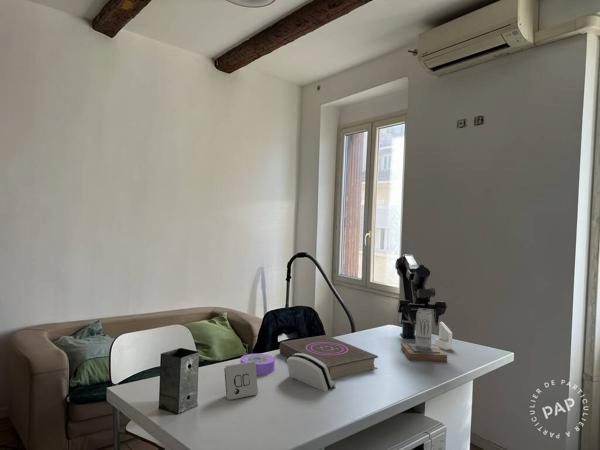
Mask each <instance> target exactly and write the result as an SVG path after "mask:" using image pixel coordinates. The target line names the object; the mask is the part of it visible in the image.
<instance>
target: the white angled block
mask: <svg viewBox="0 0 600 450" xmlns="http://www.w3.org/2000/svg"><path fill="white" fill-rule="evenodd" d="M438 326H439V327H438V331H439V332H438V338H437V337H436V338H435V343H434V344H436V345H437V346H438V347H439V348H440V349H441V350H443V351H444V350H445V351H446V350H452V349H453V348H452V347H453V332H452V331H451V329H450V328H449V327H448V326H447V325H446V324H445V323H444V322H443V321H438Z"/></svg>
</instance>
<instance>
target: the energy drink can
mask: <svg viewBox="0 0 600 450" xmlns="http://www.w3.org/2000/svg"><path fill="white" fill-rule="evenodd" d="M432 331H433V313H432V310H430V309H426V308H419V309H418V311H417V313H416V324H415V336H416V338H414V341H415V342H414V344H415V345H416V346H417V348H420V349H429V348H430V347H431V344H432V337H433V336H432V335H433V334H432Z"/></svg>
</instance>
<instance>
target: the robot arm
mask: <svg viewBox="0 0 600 450" xmlns="http://www.w3.org/2000/svg"><path fill="white" fill-rule="evenodd" d="M394 268H395V270H396V273H397V275H398V276H399V277H400V281H401V289H402V299H399V300H398V303H397V306H396V307H397V308H396V309H397V313H399V316H398V322H399V324H400V325H401V326H402V327H401V328H402V330H401V331H402V332H401V333H399V335H400V337H402V338H403V339H415V338H416V313H417V311H418V309H419V308H426V309H430V310H431V311H433V318H434V319H433V320H434V324H435V327H438V326H439V319H440V317H441V316H442V315H445V313H446V310H447V308H448V305H447V302H446V301H442V300H435V303H434V304H430V302H431V298H434V297H435V296H436V295H437V293H436V289H435V288H434V287H433V288H432V287H430V288H426V286H427V284H428V281H429V279H430V275H431V271H430V270H429V268H427V267H425V265H424V264H419V265H418V263H417V261H416V260H415V256H414V254H406V253H405V254H402V255H401V256H400V257H399V258H397V259H396V261H395V265H394Z"/></svg>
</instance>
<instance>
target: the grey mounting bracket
mask: <svg viewBox="0 0 600 450" xmlns="http://www.w3.org/2000/svg"><path fill="white" fill-rule="evenodd" d="M286 363H287V369H288V377H290V378H292V379H295V380H296V381H297V380H298V381H300V382H302V383H305V384H307V385H309V386H311V387H314V388H315V389H318V390H321V391H323V392H328V391H329V388H334V389H336V383H335V381H333V380H332V379H331V377H330V374H329V371H328V368H327V366H326V365H325V364H324V363H322V362H321V361H319V360H318V359H316V358H314V357H312V356H310V355H307V354H302V353H297V354H294V355H292V357H289V358H287V359H286Z"/></svg>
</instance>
